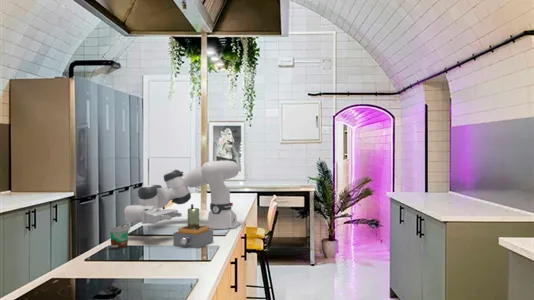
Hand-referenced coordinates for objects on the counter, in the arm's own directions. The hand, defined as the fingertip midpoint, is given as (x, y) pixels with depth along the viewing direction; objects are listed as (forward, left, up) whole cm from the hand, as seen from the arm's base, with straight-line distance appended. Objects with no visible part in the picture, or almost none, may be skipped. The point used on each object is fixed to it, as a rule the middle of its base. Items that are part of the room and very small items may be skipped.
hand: (175, 216), depth 223 cm
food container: (+18, -18, -13) cm, 28 cm away
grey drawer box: (+1, +10, -13) cm, 16 cm away
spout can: (0, +10, -7) cm, 12 cm away
